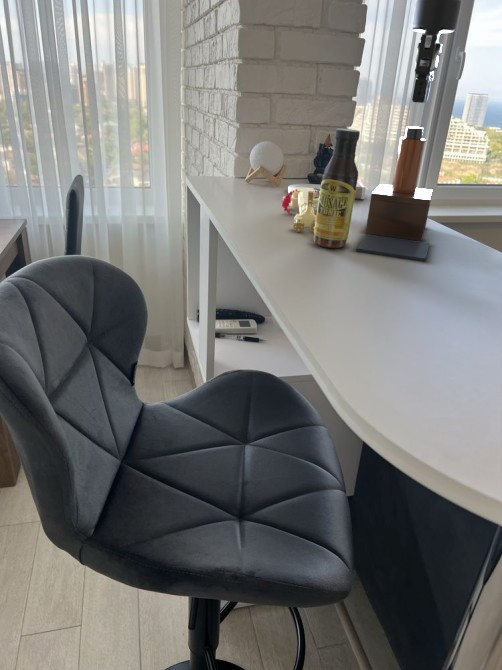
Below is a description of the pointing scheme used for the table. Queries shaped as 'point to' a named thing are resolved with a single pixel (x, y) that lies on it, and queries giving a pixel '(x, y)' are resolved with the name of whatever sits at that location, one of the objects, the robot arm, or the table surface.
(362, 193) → the record player
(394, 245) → the mat
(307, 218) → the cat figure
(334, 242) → the sauce bottle
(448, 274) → the table surface
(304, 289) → the table surface
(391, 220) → the brown open box
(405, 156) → the spice bottle
